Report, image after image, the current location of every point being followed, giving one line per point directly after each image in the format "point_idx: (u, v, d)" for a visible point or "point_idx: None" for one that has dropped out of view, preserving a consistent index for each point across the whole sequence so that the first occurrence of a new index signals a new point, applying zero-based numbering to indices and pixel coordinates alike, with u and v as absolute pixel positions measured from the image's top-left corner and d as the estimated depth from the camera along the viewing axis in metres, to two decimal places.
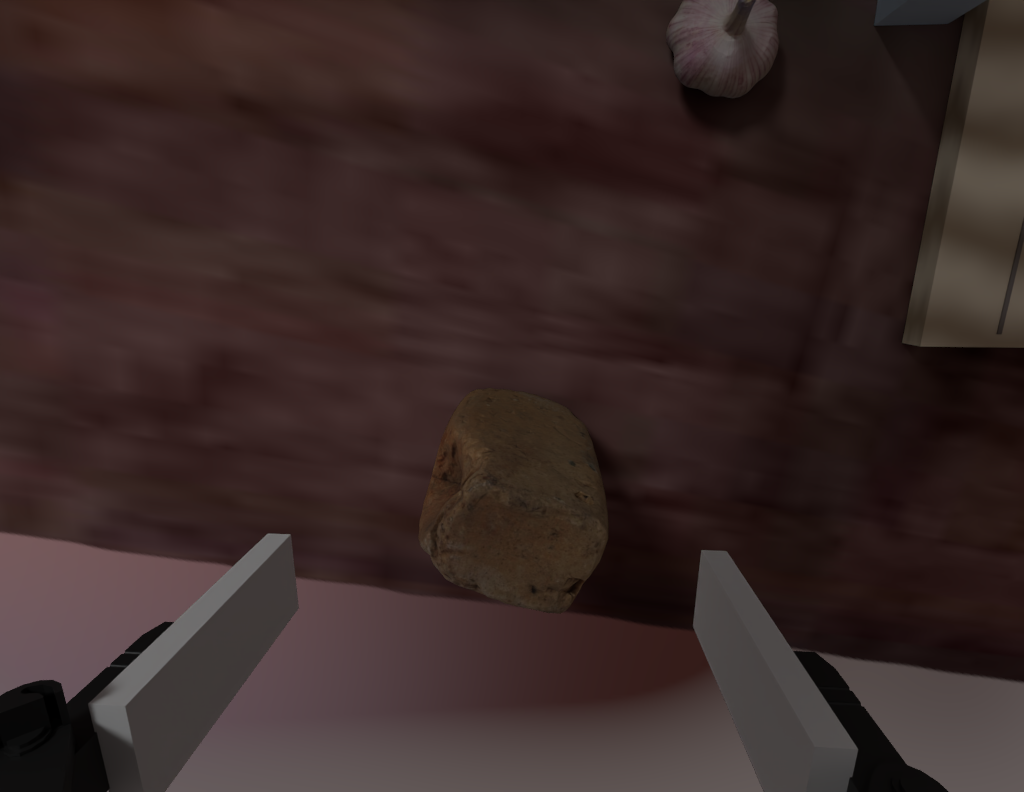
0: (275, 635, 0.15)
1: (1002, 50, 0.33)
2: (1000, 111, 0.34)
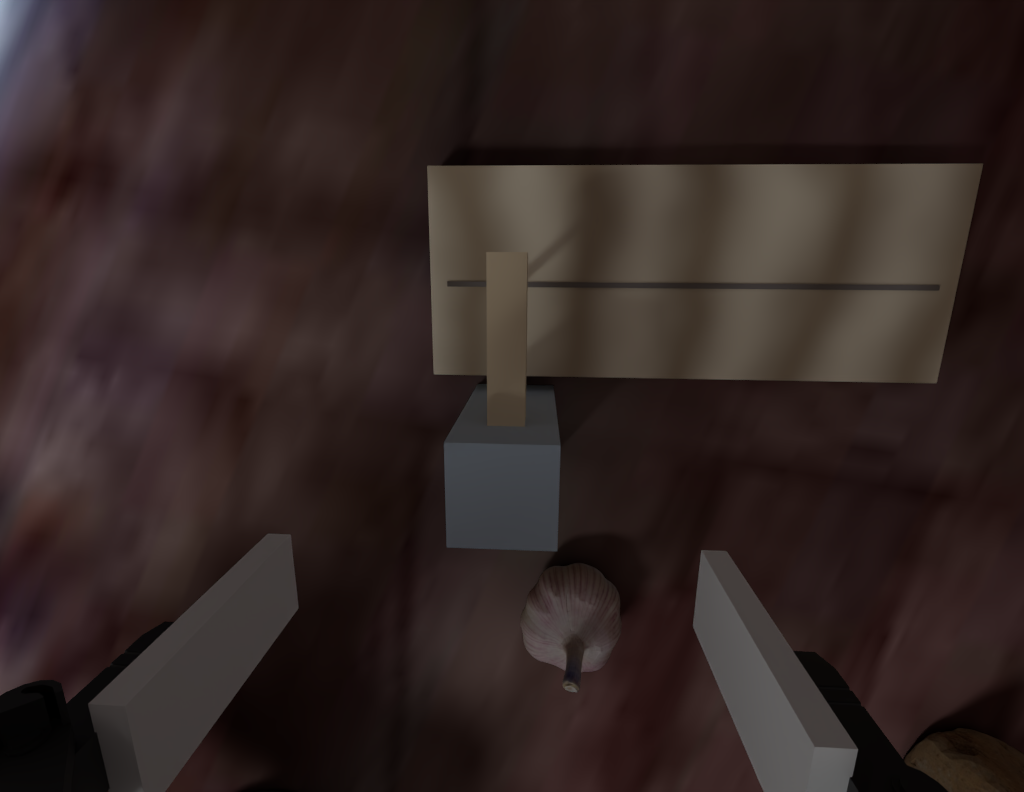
0: (275, 635, 0.15)
1: (596, 353, 0.30)
2: (659, 342, 0.30)
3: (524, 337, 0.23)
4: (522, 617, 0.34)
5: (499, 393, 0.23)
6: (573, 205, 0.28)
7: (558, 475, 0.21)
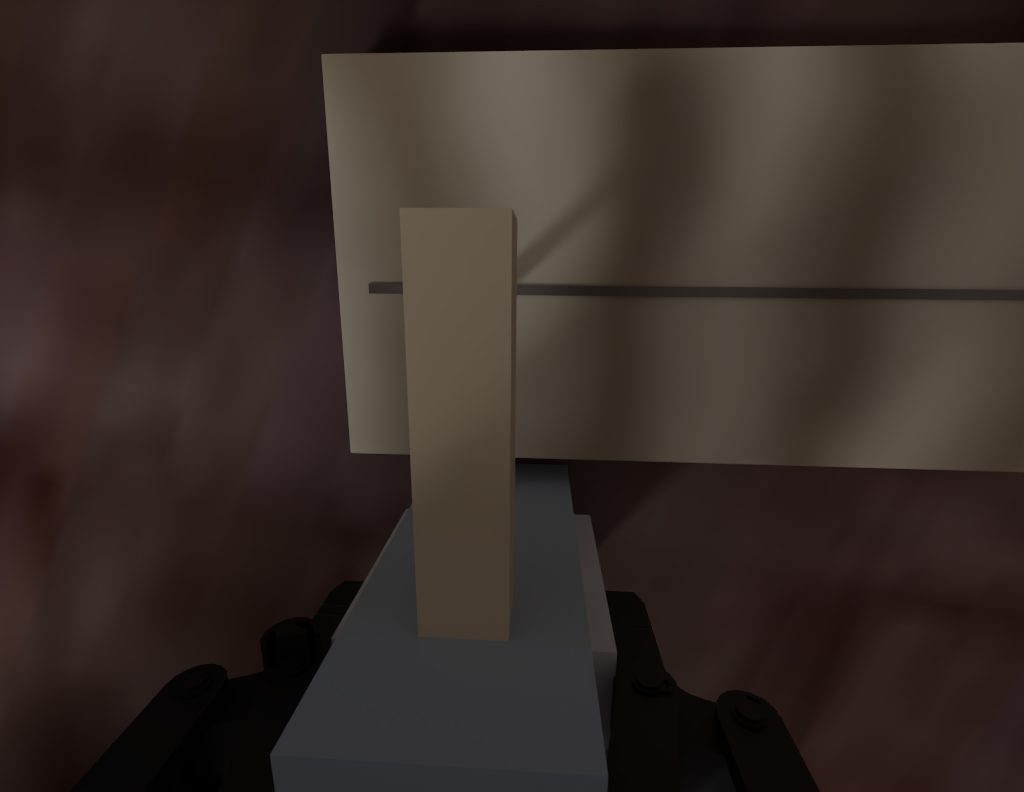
0: None
1: (649, 418, 0.16)
2: (769, 399, 0.16)
3: (506, 434, 0.09)
4: None
5: (445, 567, 0.09)
6: (613, 133, 0.14)
7: None
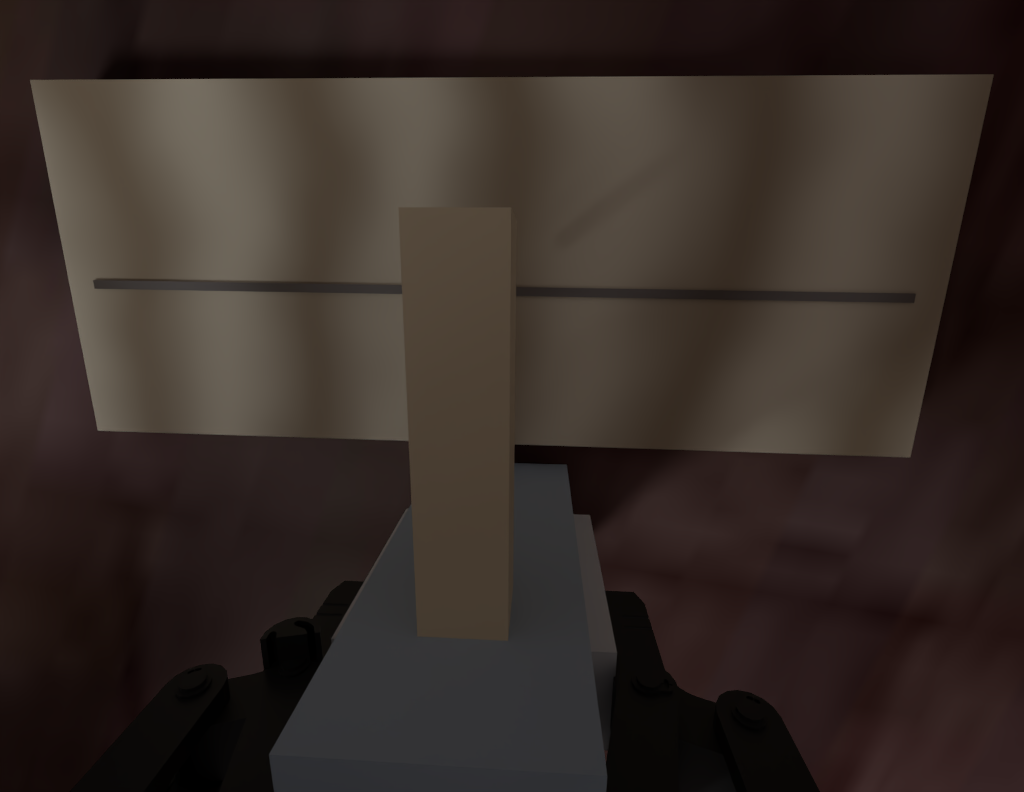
0: None
1: (349, 400, 0.18)
2: None
3: (505, 434, 0.09)
4: None
5: (444, 566, 0.09)
6: (284, 151, 0.16)
7: None
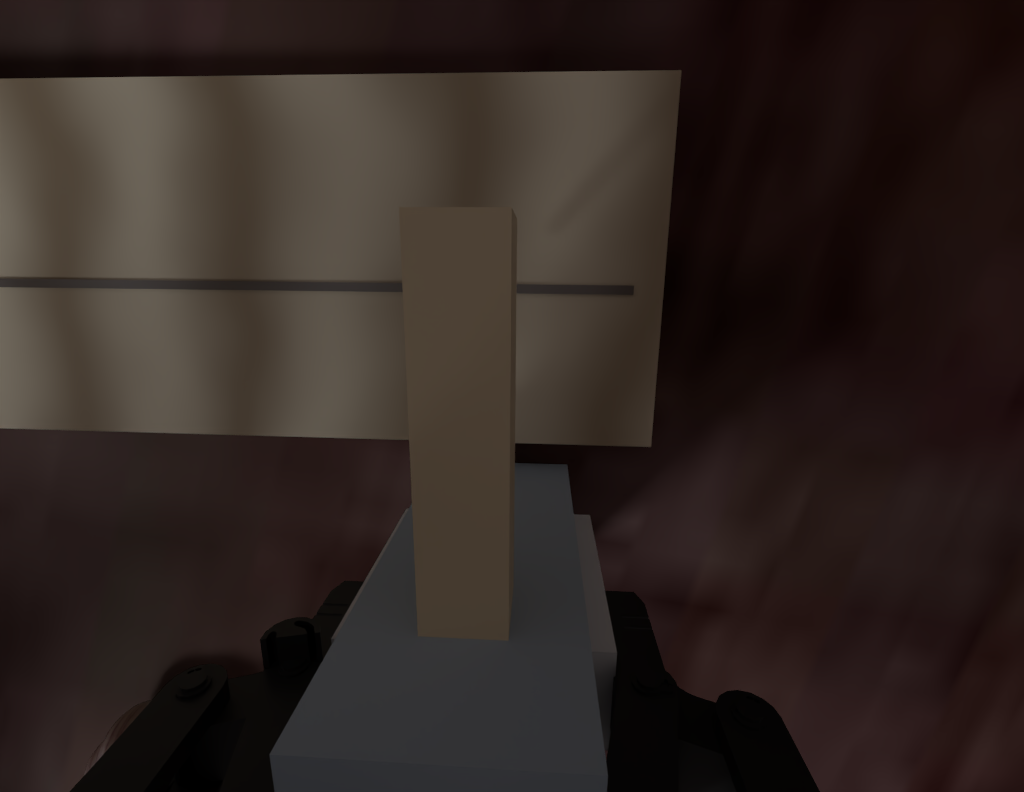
0: None
1: (111, 393, 0.19)
2: (204, 377, 0.18)
3: (506, 434, 0.09)
4: None
5: (445, 566, 0.09)
6: (19, 149, 0.17)
7: None
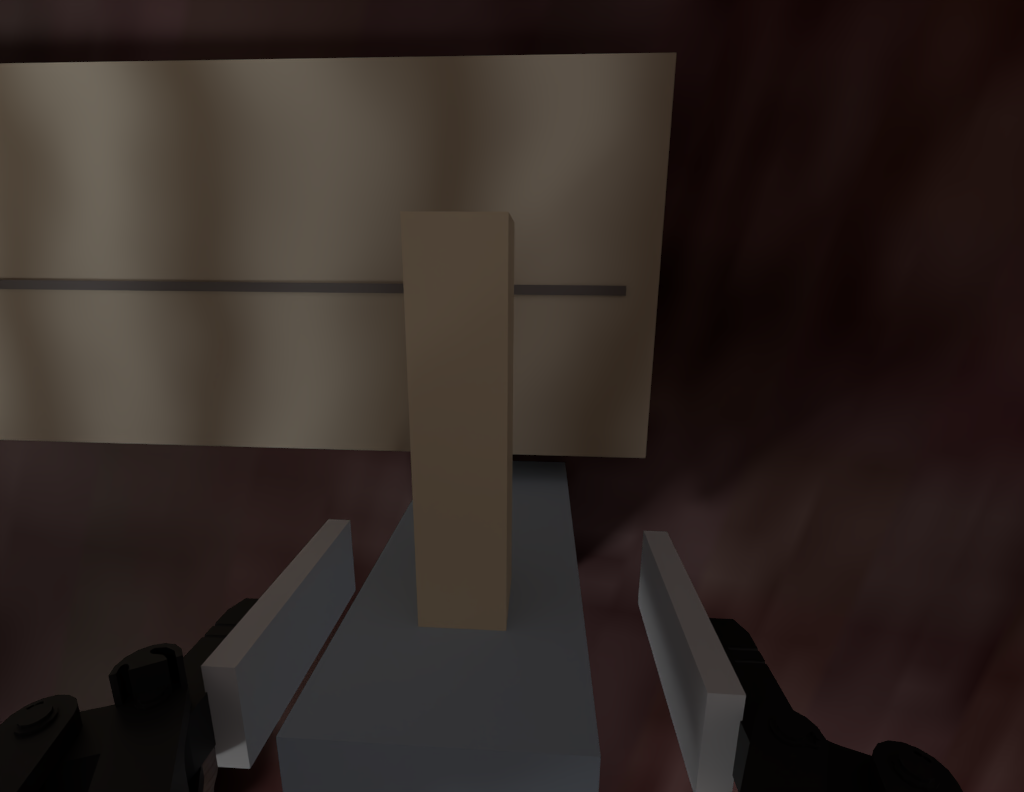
0: (337, 614, 0.16)
1: (70, 402, 0.17)
2: (168, 384, 0.17)
3: (503, 430, 0.09)
4: None
5: (444, 558, 0.10)
6: None
7: None
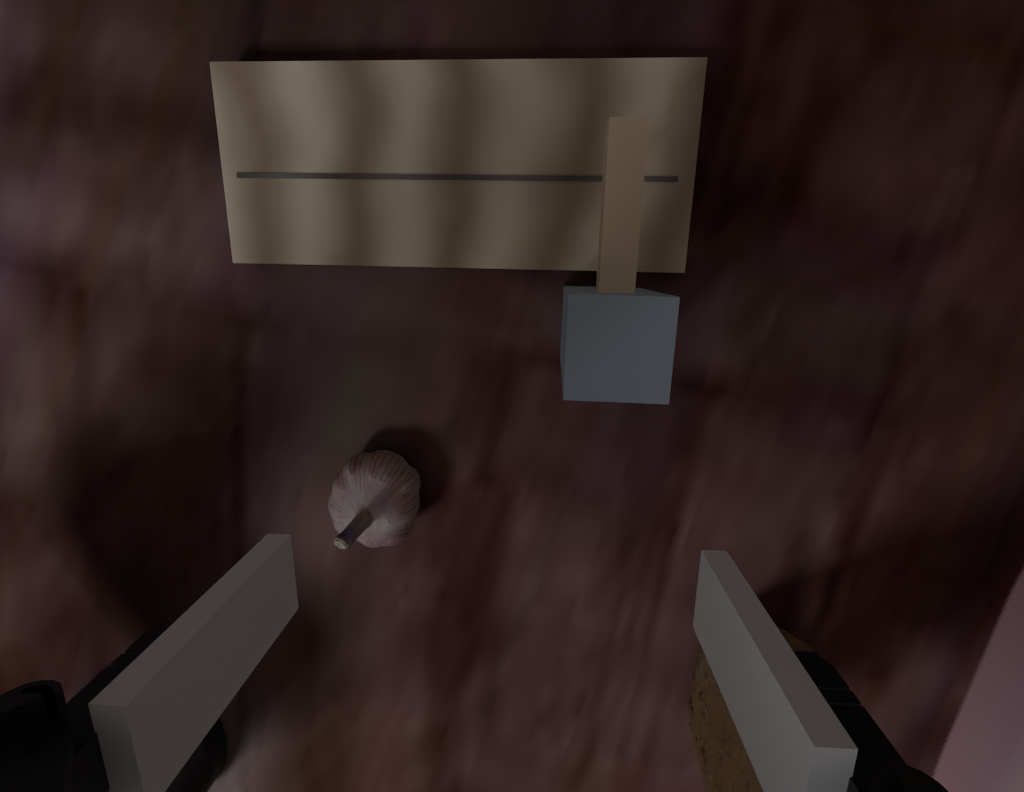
0: (275, 635, 0.15)
1: (375, 242, 0.33)
2: (430, 232, 0.32)
3: (640, 203, 0.24)
4: (329, 497, 0.37)
5: (612, 260, 0.25)
6: (342, 99, 0.31)
7: (675, 327, 0.23)
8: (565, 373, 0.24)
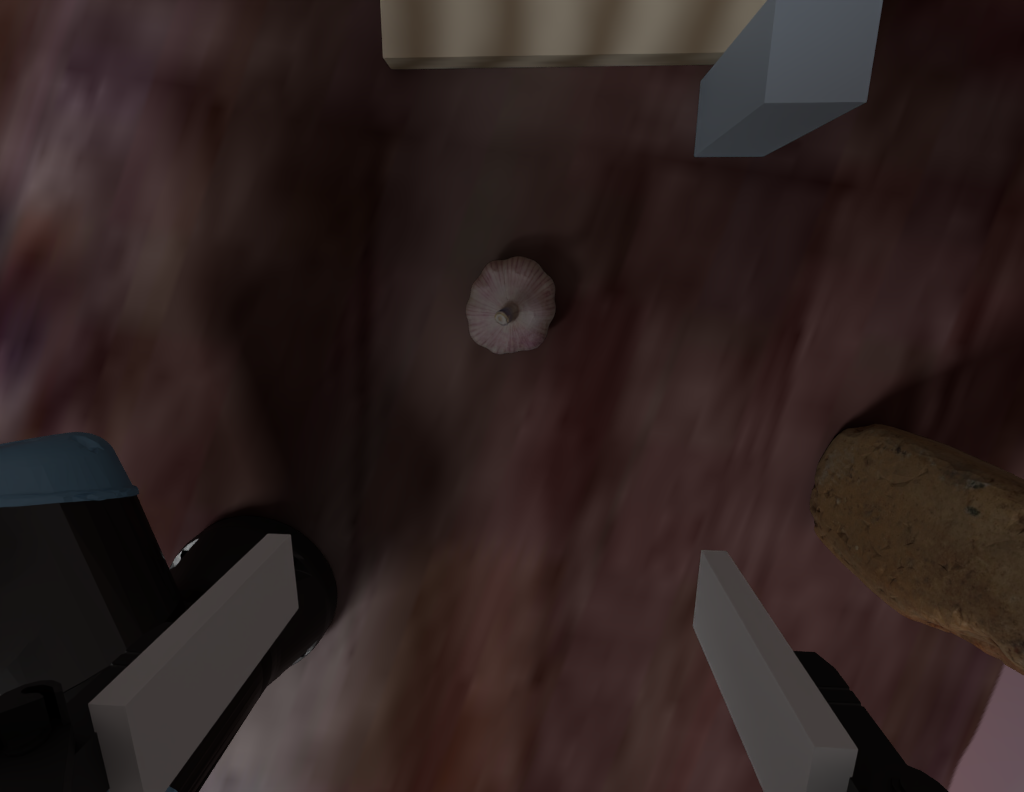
0: (275, 635, 0.15)
1: (526, 30, 0.34)
2: (581, 17, 0.33)
3: None
4: (467, 304, 0.38)
5: None
6: None
7: (879, 17, 0.24)
8: (768, 73, 0.25)
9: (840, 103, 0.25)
